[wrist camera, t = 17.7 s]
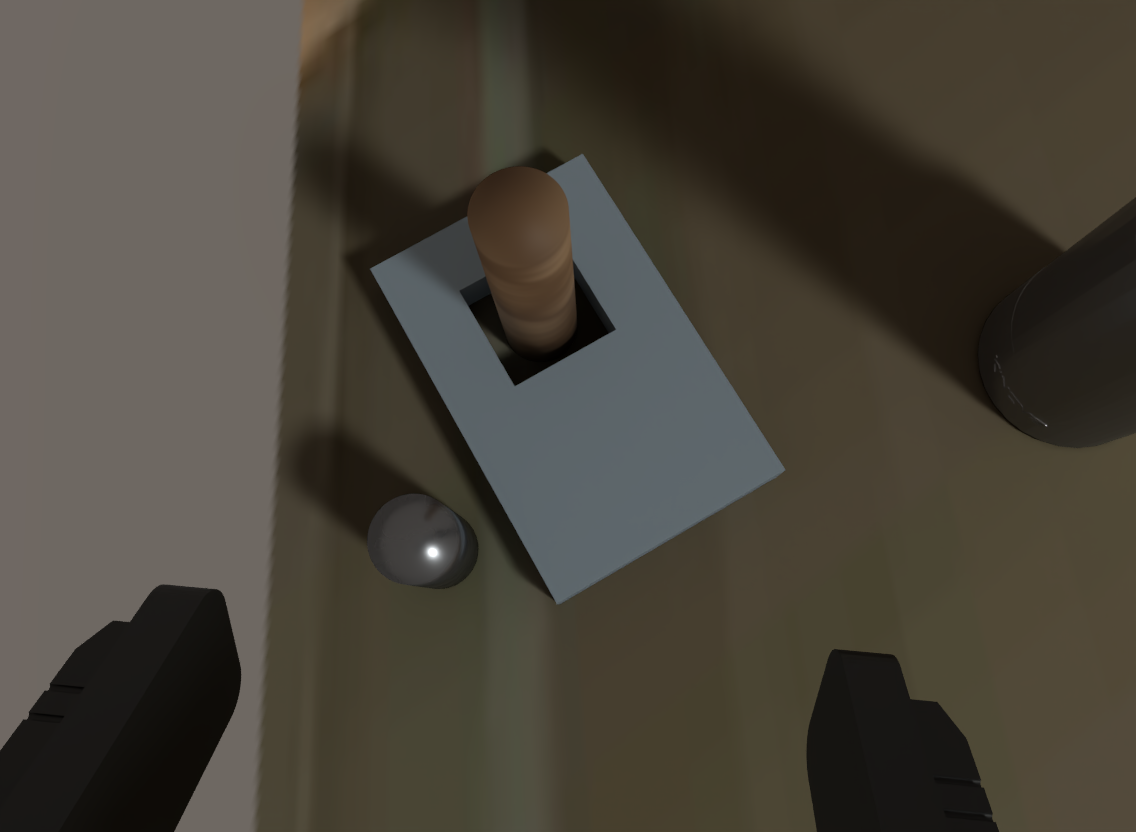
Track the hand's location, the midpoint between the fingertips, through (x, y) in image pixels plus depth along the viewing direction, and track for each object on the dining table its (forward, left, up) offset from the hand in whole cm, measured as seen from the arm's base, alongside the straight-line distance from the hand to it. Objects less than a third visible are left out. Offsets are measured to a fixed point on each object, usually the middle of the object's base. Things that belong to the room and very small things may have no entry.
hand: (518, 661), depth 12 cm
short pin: (+4, -7, -34) cm, 35 cm away
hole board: (-6, -11, -34) cm, 36 cm away
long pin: (-6, -15, -34) cm, 37 cm away
